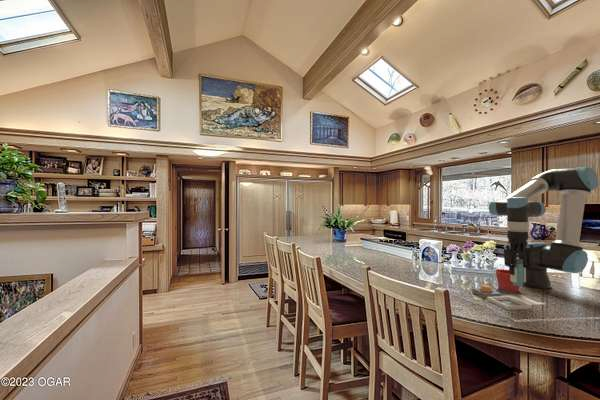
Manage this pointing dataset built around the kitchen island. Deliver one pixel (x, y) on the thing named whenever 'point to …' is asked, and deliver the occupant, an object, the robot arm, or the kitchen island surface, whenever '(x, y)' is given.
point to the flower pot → (505, 281)
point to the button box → (485, 295)
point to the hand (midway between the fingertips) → (518, 281)
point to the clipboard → (526, 299)
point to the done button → (486, 289)
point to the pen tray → (509, 307)
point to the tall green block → (519, 272)
